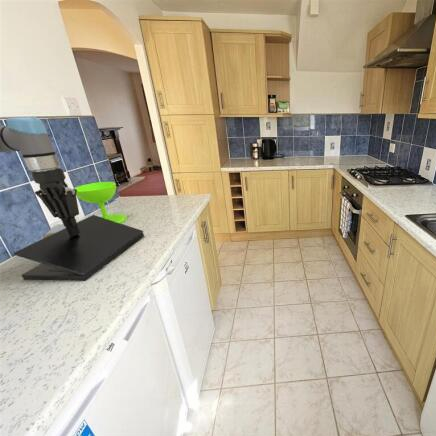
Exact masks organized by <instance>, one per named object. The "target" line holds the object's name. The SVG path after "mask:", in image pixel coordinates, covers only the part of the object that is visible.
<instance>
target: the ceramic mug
mask: <svg viewBox="0 0 436 436" xmlns="http://www.w3.org/2000/svg"><path fill="white" fill-rule="evenodd" d="M65 228H66V227H65V226H64V225H63V223H60V224H55V225H53V227H51V228H50V229H49V231H47V232H46V233H45V234H44V236H43V238H42V239H44V238H46V237H48V236H50V235H52V234H54V233H56V232H58V231H61V230H63V229H65Z"/></svg>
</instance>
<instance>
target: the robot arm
mask: <svg viewBox="0 0 436 436" xmlns="http://www.w3.org/2000/svg"><path fill="white" fill-rule="evenodd" d="M6 124H7V125H0V153H9V152H10V153H11V152H20V153H21V156H22V159H23V160H24V162H25V165H26V166H27V169H28V170H29V171H31V172H30V175H31V177H32V179H33V181H34V184H37V185H38V184H39V185H38V186H39V189H38V190H35V191H34V194H35V195H36V196H37V197H38V198H40V200H41V202H42V203H43V204H44V206H45V207H46V208H47V210H48V211H49V213H50V214H51V216H52V217H53V218H58V219H59V220H60V221H61V222H62V223H61V224H63V225H64V226H65V227H66V229H67V231H68V233H69V236H75V235H77V234H79V233H80V231H79V229H78V227H77V220H76V216H79V215H80V210H79V204H78V197H77V196H76V193H77V190H76V189H74V188H71V187H69V186H68V184H67V183H66V182H65V180H66V178H67V177H66V175H65V172H64V170H63V168H61V164H60V161H59V158H58V156H57V154H56V151H55V149H54V147H53V144H52V142H51V141H52V140H51V139H50V136H49V134H48V133H49V132H48V130H47V129H46V127H45V125H44V123H43V121H42V120H41V119H40V118H38V117H33V116H32V117H31V116H30V117H8V118H6Z"/></svg>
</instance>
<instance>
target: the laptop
mask: <svg viewBox="0 0 436 436" xmlns="http://www.w3.org/2000/svg"><path fill="white" fill-rule="evenodd" d="M144 237H145V234H144V232H143V233H142V234H140V235H139V236H137V237H136V238H135V239H133V240H132V241H131V242H129V243H128V244H126V245H125V246H124V247H122V248H121V249H120V250H118V251H117V252H115V253H114V254H113V255H111V256H110V257H108V258H107V259H106V260H104V261H103V262H102V263H100V264H99V265H97V266H96V267H95V268H93V269H92V270H91V271H89V272H88V273H86V274H85V275H84V276H82V275H79V274H76V273H73V272H69V271H66V270H63V269H59V268H56V267H53V266H49V265H46V264H43V263H39V264H38V265H36V266H35V267H33V268H31V269H29V270H28V271H26V272H24V273H23V274H21V277H22V279H23V280H24V281H25V280H26V281H71V282H72V281H73V282H74V281H76V282H79V281H80V282H86V281H87V280H89V279H90V278H91V277H92V276H94V275H96V274H97V273H98V272H99V271H101V270H102V269H103V268H105V267H106V266H107V265H108V264H110V263H111V262H112V261H114V260H115V259H117V258H118V257H119V256H120V255H122V254H123V253H125V252H126V251H127V250H128V249H129V248H131V247H132V246H134V245H135V244H136V243H138V242H139V241H140V240H141V239H143V238H144Z"/></svg>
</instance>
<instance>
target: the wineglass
mask: <svg viewBox="0 0 436 436" xmlns="http://www.w3.org/2000/svg"><path fill="white" fill-rule="evenodd" d="M73 189H76V190H77V193H76V198H77V199H79V200H81V201H83V202H86V203H88V204H93V205H95V204H98V206H99V209H100V212H101V215H102V216H101V217H102V218H105V219H108V220H111V221H114V222H117V223H120V224H123V222H126V221H127V216H126V215H125V214H120V213H116V214H115V213H114V214H108V212H107V208H106V206H105V203H106V202H108V201H110V200H111V199H112V198H114V196H115V194H116V191H117V184H116V182H114V181H101V182H93V183H87V184H83V185H78V186H76V187H74V188H73Z"/></svg>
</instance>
